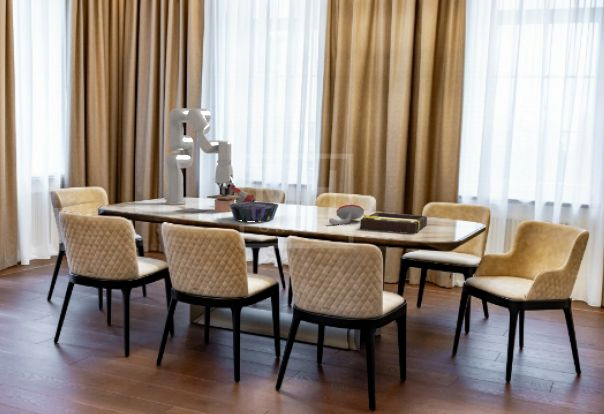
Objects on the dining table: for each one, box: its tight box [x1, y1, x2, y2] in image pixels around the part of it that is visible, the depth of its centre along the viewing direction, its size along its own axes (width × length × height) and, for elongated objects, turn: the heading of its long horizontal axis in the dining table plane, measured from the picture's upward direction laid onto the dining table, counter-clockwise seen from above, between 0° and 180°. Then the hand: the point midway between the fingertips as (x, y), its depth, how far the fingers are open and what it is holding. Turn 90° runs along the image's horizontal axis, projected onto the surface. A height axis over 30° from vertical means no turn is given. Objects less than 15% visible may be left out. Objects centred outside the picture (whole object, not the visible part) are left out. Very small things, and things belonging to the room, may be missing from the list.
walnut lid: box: [206, 185, 241, 200], centre depth 380 cm, size 14×14×6 cm
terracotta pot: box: [214, 199, 235, 213], centre depth 381 cm, size 11×11×7 cm
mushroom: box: [328, 203, 365, 226], centre depth 352 cm, size 13×26×10 cm, turn 126°
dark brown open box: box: [359, 211, 428, 234], centre depth 340 cm, size 28×7×30 cm
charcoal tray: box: [174, 207, 212, 215], centre depth 379 cm, size 16×16×1 cm
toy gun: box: [229, 184, 256, 203], centre depth 402 cm, size 5×22×15 cm, turn 80°
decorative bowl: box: [230, 201, 279, 223], centre depth 356 cm, size 26×28×10 cm
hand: (224, 194), depth 381 cm, fingers closed on walnut lid, 3 cm apart
